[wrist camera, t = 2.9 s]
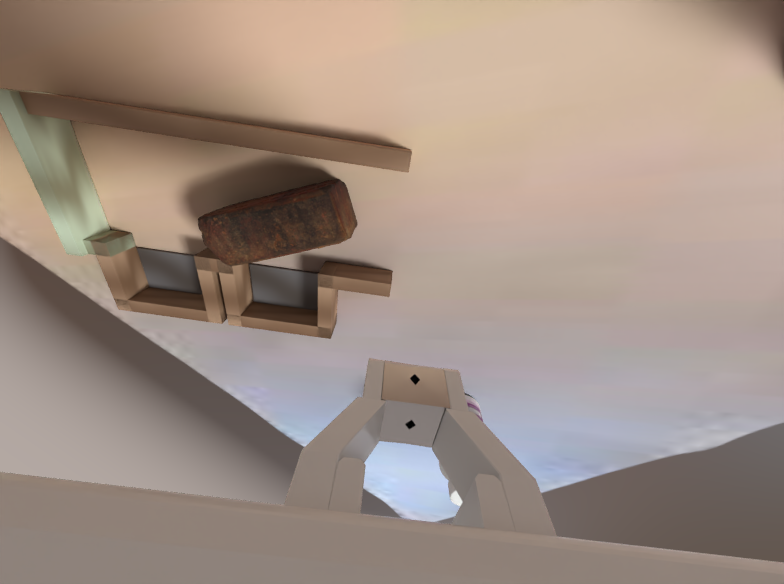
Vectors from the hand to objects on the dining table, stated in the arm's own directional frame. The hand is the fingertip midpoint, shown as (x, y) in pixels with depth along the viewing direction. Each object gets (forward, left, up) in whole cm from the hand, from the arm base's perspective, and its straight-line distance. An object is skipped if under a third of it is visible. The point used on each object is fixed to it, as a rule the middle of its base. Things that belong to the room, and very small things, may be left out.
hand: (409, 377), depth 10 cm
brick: (0, -10, -17) cm, 19 cm away
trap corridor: (+2, -14, -16) cm, 21 cm away
